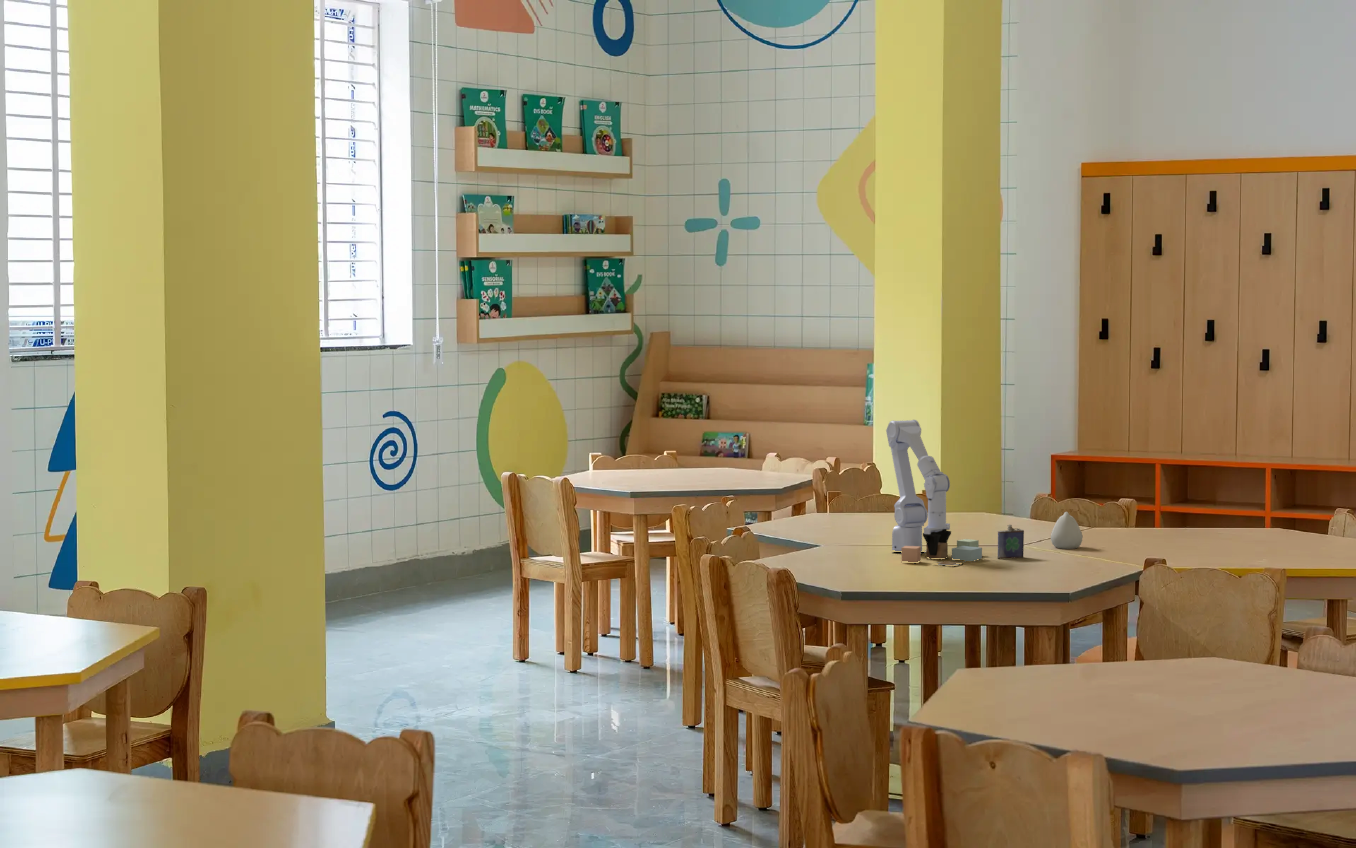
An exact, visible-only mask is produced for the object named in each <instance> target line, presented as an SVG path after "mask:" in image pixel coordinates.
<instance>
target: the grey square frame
mask: <svg viewBox="0 0 1356 848" xmlns="http://www.w3.org/2000/svg"><path fill="white" fill-rule="evenodd" d="M943 561H944V560H941V561H939V562H938V563H939V564H938V565H959V564H956V563H959V562H958V561H949V560H948V561H947V560H945V561H944V562H943ZM959 566H960V565H959Z"/></svg>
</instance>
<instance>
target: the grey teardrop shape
mask: <svg viewBox="0 0 1356 848" xmlns="http://www.w3.org/2000/svg"><path fill="white" fill-rule="evenodd" d="M1082 532H1083V531H1081V529H1080V525H1079V524H1078V521H1077V519H1076V518H1074V516H1072V515H1070V513H1069V512H1068V511H1065V512H1063V515H1061V516H1059V518H1057V520H1056V522H1055V524H1054V526H1053V528H1052V530H1051V534H1050V541H1051V544H1052V545H1053V547H1055V548H1057V549H1062V550H1075V549H1077V548H1079V547H1080V546H1081V545H1082V543H1083V538H1084V537H1083V533H1082Z"/></svg>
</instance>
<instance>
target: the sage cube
mask: <svg viewBox="0 0 1356 848" xmlns="http://www.w3.org/2000/svg"><path fill="white" fill-rule="evenodd" d="M979 545H980V541H979V539H978V540H977V539H969V538H964V539H963V538H962V539H958V540H956V547H960V546H968V547H980V546H979Z"/></svg>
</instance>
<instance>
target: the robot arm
mask: <svg viewBox="0 0 1356 848" xmlns="http://www.w3.org/2000/svg"><path fill="white" fill-rule="evenodd" d="M885 431H886V437H887V442H888V446H889V448H890V453H891V457H892V462H893V467H894V473H895V477H896V483H897V489H898V493H899V499H898V500H897V501H896V502H895V503H894V504H893V506H894V521H895V523H896V525H895V526H894V527H893V529H892V533H891V551H892V550H895V551H902V547H904V546H921V551H922V550H923V539H924V541H925V543H926V544H927V546H928V550H929V554H930V555H934V556H936V555H937V549H938V542H940V543H948V541H949V538H950V536H951V535H952V531H951V530H950V529H951V523H947V492H948V491H949V489H950V486H951V482H950V477H949V476H948V475H947V474H945V473H944V472H943V471H941V469H940V468H939V465H938V464H937V462H936V460H935V458H934V457H933V456H931V455H929V453H928V452H927V449H926V446H925V444H924V441H923V439H922V437H921V436H922V427H921V425H920V423H919V421H918V420H917V419H912V420H911V419H909V420H891V421H889V423H888V425H887V427H886V429H885ZM909 448H910V449H911V450H912V452H913V454H914V456H916V457H915V458H916V459H917V460H918V461H917V464H916V465H917V468H918V469H919V472H920V473H921V475H922V477H923V479H924V483H923V485H924V486H923V487H924V490H925V495H926V499H927V508H926V506H925V503H924V500H923V499H922V498H921V497H919V496H917V493H916V488H915V483H914V477H913V473H912V468H911V461H910V457H909V452H908V449H909ZM926 522H927V525H926V526H925V524H926ZM924 526H925V527H924ZM923 527H924V528H923ZM924 550H925V549H924ZM925 551H926V550H925Z"/></svg>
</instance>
